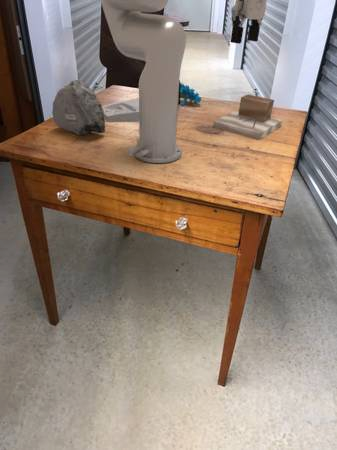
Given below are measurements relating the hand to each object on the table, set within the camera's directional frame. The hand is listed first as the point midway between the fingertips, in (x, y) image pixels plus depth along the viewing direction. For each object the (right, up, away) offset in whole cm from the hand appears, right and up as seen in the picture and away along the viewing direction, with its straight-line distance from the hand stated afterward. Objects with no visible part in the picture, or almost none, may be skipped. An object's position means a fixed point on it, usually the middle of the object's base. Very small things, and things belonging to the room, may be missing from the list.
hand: (244, 41), depth 104 cm
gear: (-15, -8, +30) cm, 34 cm away
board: (+3, -22, +11) cm, 24 cm away
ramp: (-33, -18, +15) cm, 41 cm away
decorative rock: (-48, -27, +1) cm, 55 cm away
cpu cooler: (-23, -13, +22) cm, 34 cm away
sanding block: (+6, -18, +12) cm, 23 cm away
